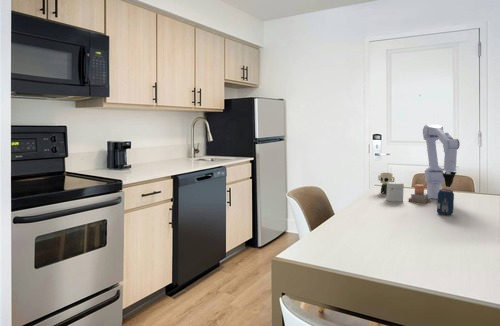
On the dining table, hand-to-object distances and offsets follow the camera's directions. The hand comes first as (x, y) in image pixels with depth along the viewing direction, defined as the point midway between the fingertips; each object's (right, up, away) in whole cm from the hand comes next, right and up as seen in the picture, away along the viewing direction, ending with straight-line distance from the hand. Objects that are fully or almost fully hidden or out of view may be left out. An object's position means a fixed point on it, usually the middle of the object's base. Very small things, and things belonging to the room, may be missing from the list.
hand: (448, 185), depth 195 cm
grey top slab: (-12, -8, +8) cm, 17 cm away
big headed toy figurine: (-22, -7, +32) cm, 40 cm away
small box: (-25, -10, +11) cm, 29 cm away
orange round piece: (-12, -5, +8) cm, 16 cm away
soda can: (-14, -13, -21) cm, 28 cm away
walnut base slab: (-12, -10, +9) cm, 18 cm away
